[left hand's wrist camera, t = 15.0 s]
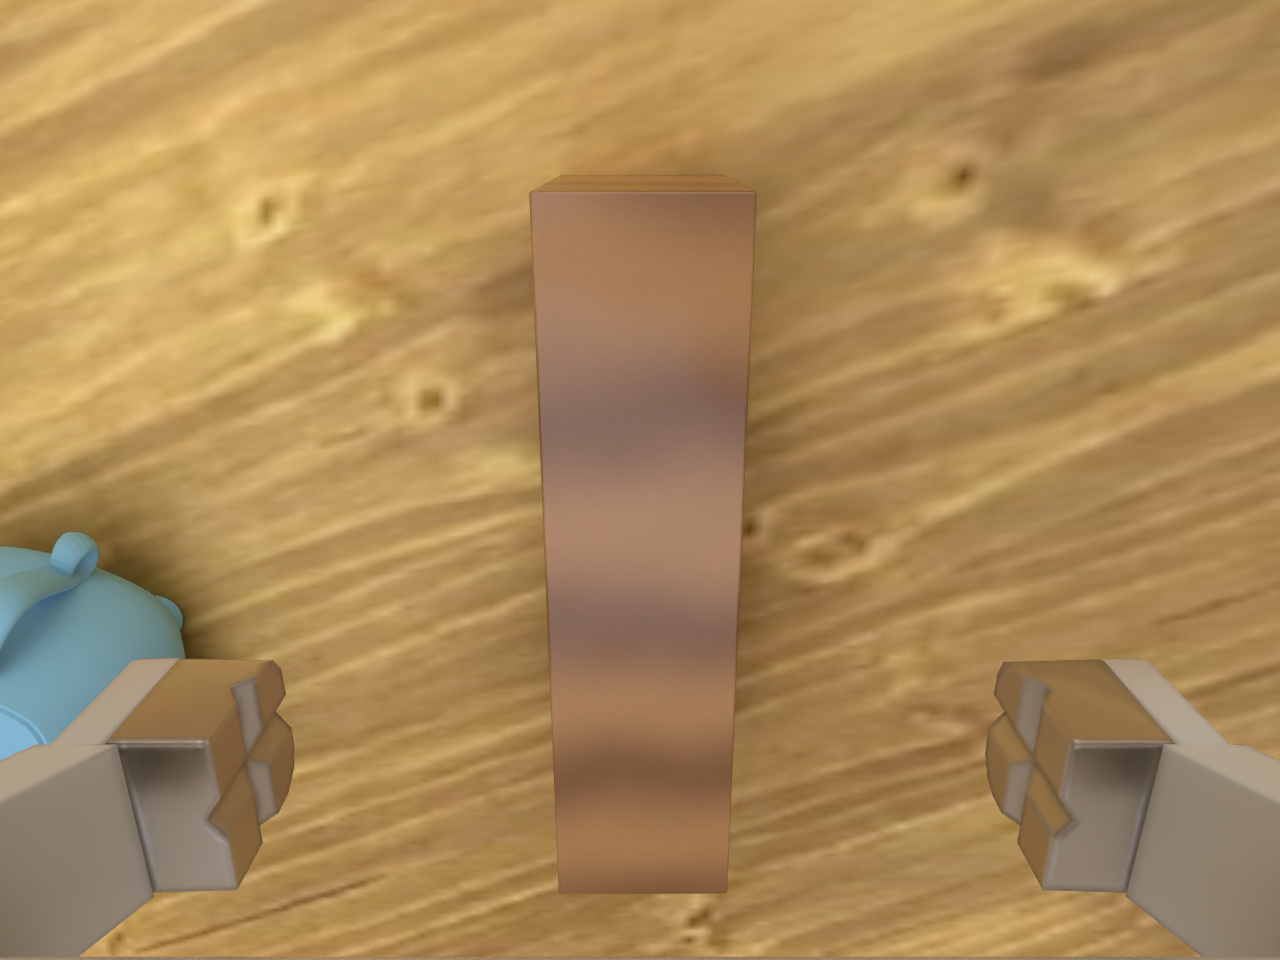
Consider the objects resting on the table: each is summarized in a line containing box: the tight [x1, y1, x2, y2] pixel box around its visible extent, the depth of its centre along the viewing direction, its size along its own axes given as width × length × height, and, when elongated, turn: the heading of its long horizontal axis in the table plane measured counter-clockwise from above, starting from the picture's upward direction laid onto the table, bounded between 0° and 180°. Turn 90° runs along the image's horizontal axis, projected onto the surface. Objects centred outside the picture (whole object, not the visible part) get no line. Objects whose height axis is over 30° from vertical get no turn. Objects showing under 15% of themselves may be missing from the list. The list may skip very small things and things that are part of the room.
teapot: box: [0, 532, 185, 760], centre depth 36 cm, size 13×14×11 cm
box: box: [529, 176, 757, 894], centre depth 35 cm, size 25×6×10 cm, turn 0°
